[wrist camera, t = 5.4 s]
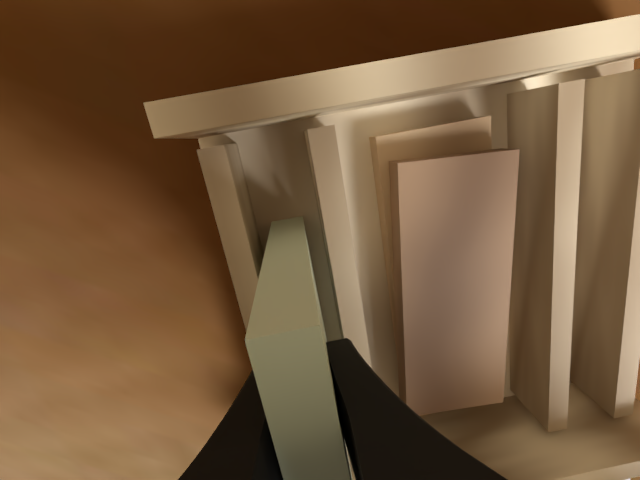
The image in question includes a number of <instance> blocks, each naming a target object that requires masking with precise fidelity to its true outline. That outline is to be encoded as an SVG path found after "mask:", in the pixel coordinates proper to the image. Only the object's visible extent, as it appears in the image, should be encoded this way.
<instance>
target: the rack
mask: <svg viewBox="0 0 640 480" xmlns="http://www.w3.org/2000/svg"><path fill="white" fill-rule="evenodd" d="M637 58H640V14H639V15H633V16H627V17H622V18H616V19H610V20H605V21H599V22H594V23H588V24H582V25H577V26H571V27H566V28H560V29H554V30H549V31H543V32H538V33H532V34H526V35H521V36H515V37H509V38H504V39H498V40H493V41H487V42H481V43H476V44H470V45H465V46H459V47H453V48H448V49H442V50H437V51H431V52H425V53H420V54H414V55H409V56H403V57H397V58H392V59H386V60H380V61H375V62H369V63H364V64H358V65H352V66H347V67H341V68H336V69H330V70H324V71H319V72H313V73H308V74H302V75H296V76H291V77H285V78H279V79H274V80H268V81H263V82H257V83H251V84H246V85H240V86H235V87H229V88H223V89H218V90H212V91H207V92H201V93H195V94H190V95H184V96H178V97H173V98H167V99H162V100H156V101H150V102H145V103H143V104H144V107H145V110H146V114H147V117H148V120H149V123H150V127H151V130H152V133H153V136H154V138H177V139H198V141H199V145H200V148H201V149H198V150H197V154H198V158H199V161H200V165H201V169H202V172H203V176H204V180H205V183H206V187H207V191H208V194H209V198H210V201H211V205H212V209H213V212H214V216H215V220H216V223H217V227H218V231H219V234H220V238H221V242H222V245H223V249H224V253H225V256H226V260H227V263H228V267H229V271H230V274H231V278H232V282H233V285H234V289H235V293H236V296H237V300H238V304H239V307H240V311H241V315H242V318H243V322H244V325H245V329H246V332H247V327H248V323H249V319H250V314H251V310H252V306H253V301H254V297H255V292H256V288H257V284H258V279H259V275H260V271H261V266H262V262H263V257H264V253H265V249H266V244H267V240H268V235H269V231H270V227H271V222H273V221H278V220H283V219H289V218H294V217H299V216H303V220H304V226H305V231H306V236H307V241H308V246H309V251H310V256H311V261H312V267H313V272H314V277H315V282H316V287H317V292H318V297H319V302H320V308H321V313H322V318H323V323H324V328H325V333H326V338H327V342H329V341H334V340H339V339H344V338H348V339H349V340H351V341H352V343H353V345H354V346H355V348H356V349H357V351H358V352H359V354H360V355H361V356H362V358H363V359H364V360H365V361H366V363H367V364H368V365H369V366H370V367H371V369H372V370H373V371H374V372H375V373H376V374H377V375H378V376H379V377H380V378H381V380H382V381H383V382H384V383H385V384H386V385H387V386H388V387H389V388H390V389H391V390H392V391H393V392H394V393H395V394H396V395H397V396H398V397H399V379H398V361H397V353H396V345H395V338H394V330H393V322H392V314H391V306H390V298H389V290H388V282H387V274H386V267H385V259H384V251H383V243H382V235H381V227H380V219H379V211H378V203H377V195H376V188H375V180H374V172H373V164H372V156H371V148H370V140H369V137H372V136H378V135H383V134H388V133H394V132H399V131H405V130H410V129H415V128H421V127H426V126H432V125H437V124H442V123H448V122H453V121H459V120H464V119H470V118H475V117H483V116H491V140H492V149H500V148H504V149H520V151H519V167H518V182H517V198H516V213H515V229H514V244H513V260H512V275H511V291H510V306H509V321H508V337H507V352H506V368H505V383H504V399H503V402H501V403H495V404H488V405H482V406H475V407H468V408H462V409H455V410H449V411H442V412H437V413H432V414H427V415H422V416H420V417H421V418H422V419H424V420H425V421H426V422H427V423H428V424H430V425H431V426H432V427H433V428H435V429H436V430H437V431H438V432H440V433H441V434H442V435H444V436H445V437H446V438H448V439H449V440H450V441H452V442H453V443H454V444H456V445H457V446H458V447H460V448H461V449H462V450H464V451H465V452H467V453H468V454H470V455H471V456H473V457H474V458H476V459H477V460H479V461H480V462H482V463H484V464H485V465H487V466H488V467H490V468H491V469H493V470H494V471H496V472H497V473H499V474H500V475H502V476H503V477H505V478H506V479H508V480H625V479H630V478H634V477H639V476H640V401H639V400H637V399H636V398H635V391H636V383H637V375H638V367H639V358H640V69H636V70H633V69H634V59H637ZM347 451H348V450H347ZM348 457H349V454H348ZM349 462H350V468H351V473H352V479H353V480H356V479H355V475H354V472H353V468H352V465H351V461H350V457H349Z"/></svg>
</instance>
